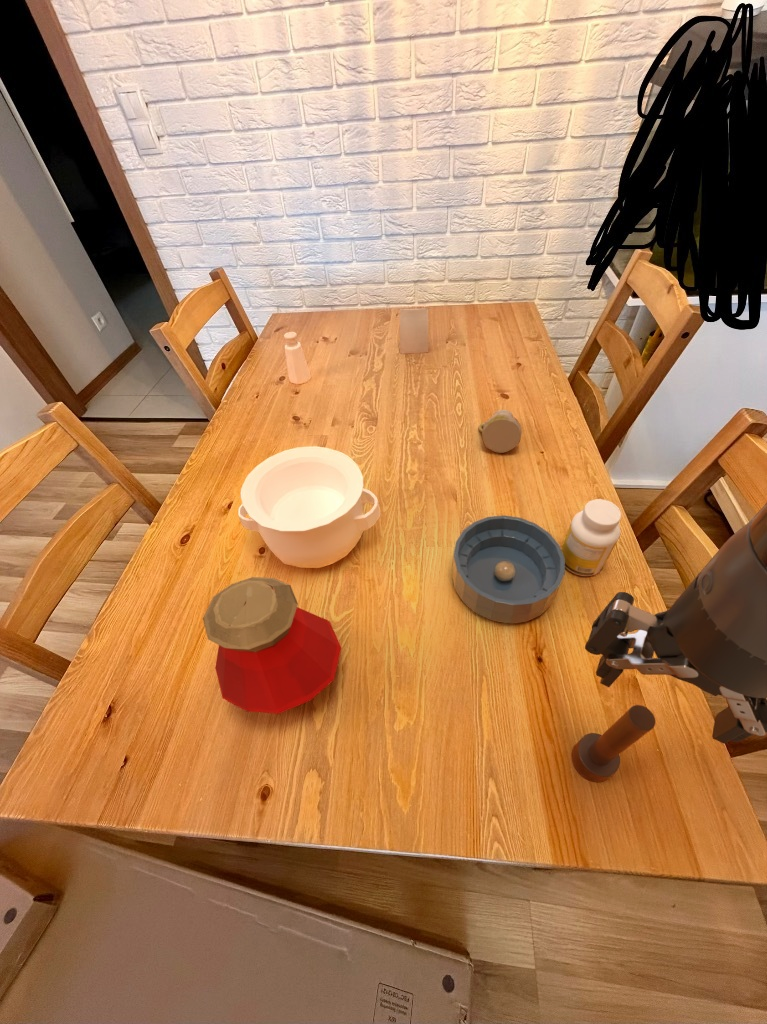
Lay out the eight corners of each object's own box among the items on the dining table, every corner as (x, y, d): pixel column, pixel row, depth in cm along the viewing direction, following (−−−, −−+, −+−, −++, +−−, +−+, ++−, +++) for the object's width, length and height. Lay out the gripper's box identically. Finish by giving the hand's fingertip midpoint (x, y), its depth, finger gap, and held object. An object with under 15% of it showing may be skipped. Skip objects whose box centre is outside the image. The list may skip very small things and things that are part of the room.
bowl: (568, 563, 71) (578, 539, 66) (534, 644, 63) (543, 623, 58) (476, 526, 76) (480, 502, 72) (434, 596, 68) (435, 574, 64)
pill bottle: (593, 541, 73) (617, 491, 64) (609, 576, 69) (637, 527, 60) (553, 545, 73) (571, 495, 64) (566, 580, 69) (587, 532, 60)
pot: (380, 494, 83) (375, 441, 73) (384, 575, 71) (379, 525, 62) (259, 502, 83) (239, 451, 74) (243, 584, 72) (217, 536, 62)
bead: (516, 573, 69) (520, 562, 67) (509, 588, 67) (512, 577, 65) (497, 565, 70) (500, 553, 68) (490, 579, 69) (492, 568, 66)
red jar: (342, 621, 66) (320, 537, 51) (351, 718, 58) (328, 650, 43) (233, 638, 66) (178, 558, 51) (225, 739, 57) (156, 678, 42)
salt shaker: (316, 377, 108) (307, 333, 100) (297, 387, 106) (286, 343, 98) (302, 369, 111) (293, 325, 103) (284, 378, 109) (272, 334, 100)
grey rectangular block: (428, 352, 112) (428, 312, 105) (400, 353, 113) (399, 313, 105) (427, 344, 115) (428, 304, 107) (400, 345, 115) (399, 306, 108)
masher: (616, 753, 53) (673, 708, 41) (606, 791, 51) (664, 754, 39) (577, 732, 55) (622, 683, 43) (566, 768, 53) (610, 726, 41)
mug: (518, 422, 93) (535, 401, 84) (504, 465, 92) (520, 449, 82) (483, 410, 94) (496, 388, 84) (468, 452, 92) (480, 435, 82)
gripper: (933, 608, 25) (763, 706, 37) (653, 512, 30) (585, 625, 43) (953, 735, 21) (755, 798, 33) (626, 599, 26) (559, 697, 39)
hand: (659, 701), depth 38 cm, fingers open, 8 cm apart
